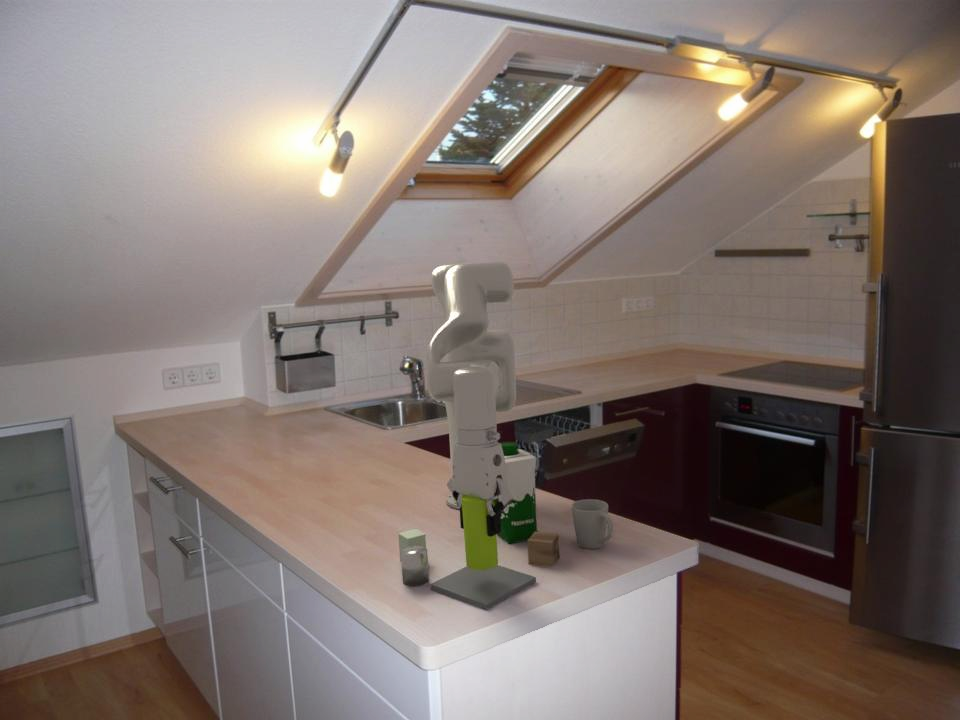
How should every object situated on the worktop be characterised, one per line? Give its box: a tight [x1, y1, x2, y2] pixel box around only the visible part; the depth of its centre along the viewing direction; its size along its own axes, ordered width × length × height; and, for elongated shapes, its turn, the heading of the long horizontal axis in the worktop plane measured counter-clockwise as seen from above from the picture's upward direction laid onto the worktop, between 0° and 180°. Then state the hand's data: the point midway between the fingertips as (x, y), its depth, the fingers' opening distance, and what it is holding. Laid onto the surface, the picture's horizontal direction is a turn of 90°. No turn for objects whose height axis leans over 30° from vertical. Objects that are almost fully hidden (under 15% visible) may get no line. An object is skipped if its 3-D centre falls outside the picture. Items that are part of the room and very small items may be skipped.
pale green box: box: [398, 528, 427, 563], centre depth 162 cm, size 4×4×6 cm
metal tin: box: [401, 546, 430, 587], centre depth 153 cm, size 5×5×6 cm
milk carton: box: [494, 441, 538, 544], centre depth 172 cm, size 9×9×20 cm
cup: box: [570, 498, 614, 550], centre depth 165 cm, size 8×10×8 cm
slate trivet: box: [429, 564, 537, 611], centre depth 149 cm, size 14×14×1 cm
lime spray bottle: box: [461, 493, 499, 570], centre depth 148 cm, size 6×7×20 cm
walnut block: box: [527, 530, 561, 567], centre depth 160 cm, size 5×5×5 cm
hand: (480, 529), depth 148 cm, fingers closed on lime spray bottle, 5 cm apart
